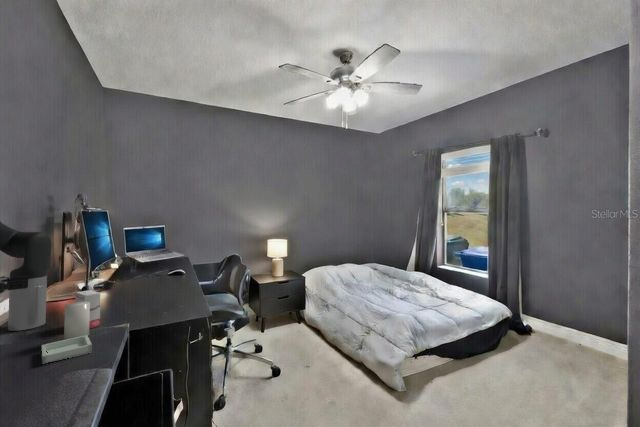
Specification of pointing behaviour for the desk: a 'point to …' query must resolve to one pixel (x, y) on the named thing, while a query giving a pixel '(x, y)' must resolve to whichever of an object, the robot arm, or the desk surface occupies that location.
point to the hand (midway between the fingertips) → (28, 281)
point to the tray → (66, 349)
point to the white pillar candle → (76, 319)
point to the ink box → (91, 305)
